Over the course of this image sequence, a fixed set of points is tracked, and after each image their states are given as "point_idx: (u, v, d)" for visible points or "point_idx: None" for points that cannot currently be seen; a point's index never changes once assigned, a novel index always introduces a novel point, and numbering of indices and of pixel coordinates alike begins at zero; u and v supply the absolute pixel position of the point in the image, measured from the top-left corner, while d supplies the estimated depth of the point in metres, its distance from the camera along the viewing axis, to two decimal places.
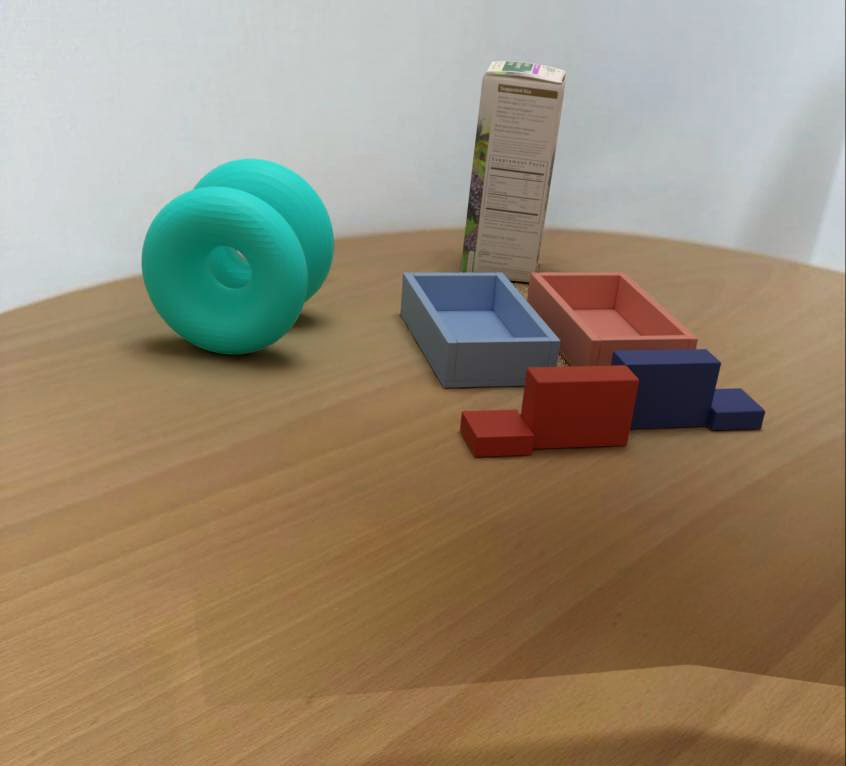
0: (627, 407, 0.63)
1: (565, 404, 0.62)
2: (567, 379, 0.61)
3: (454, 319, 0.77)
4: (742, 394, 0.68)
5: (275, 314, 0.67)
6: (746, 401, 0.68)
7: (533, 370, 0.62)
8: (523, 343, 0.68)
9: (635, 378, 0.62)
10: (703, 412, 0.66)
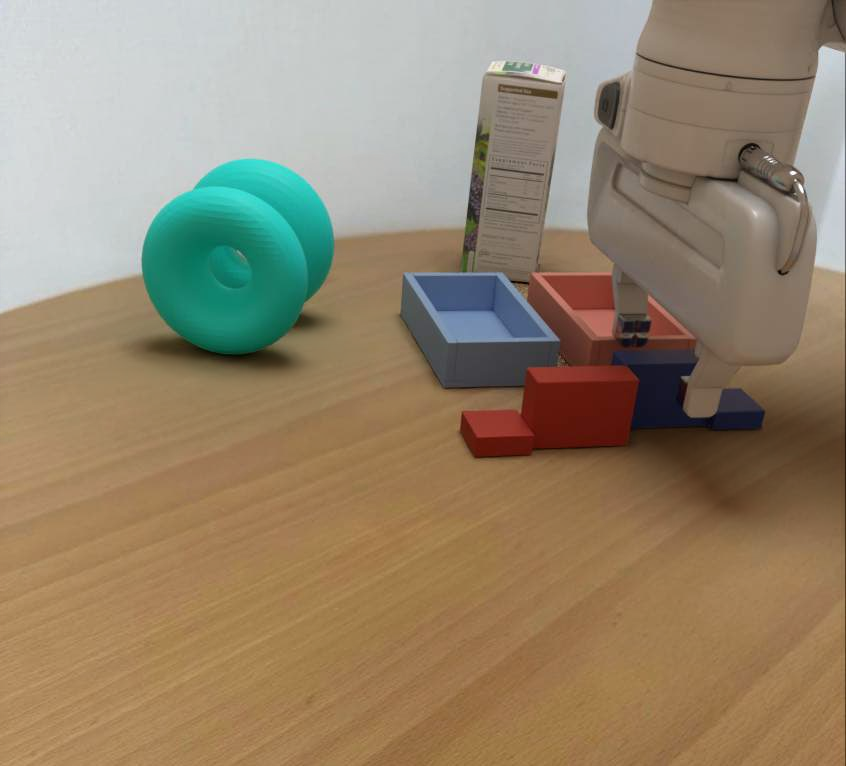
0: (627, 407, 0.63)
1: (565, 404, 0.62)
2: (567, 379, 0.61)
3: (454, 319, 0.77)
4: (742, 394, 0.68)
5: (275, 314, 0.67)
6: (746, 401, 0.68)
7: (533, 370, 0.62)
8: (523, 343, 0.68)
9: (635, 378, 0.62)
10: None
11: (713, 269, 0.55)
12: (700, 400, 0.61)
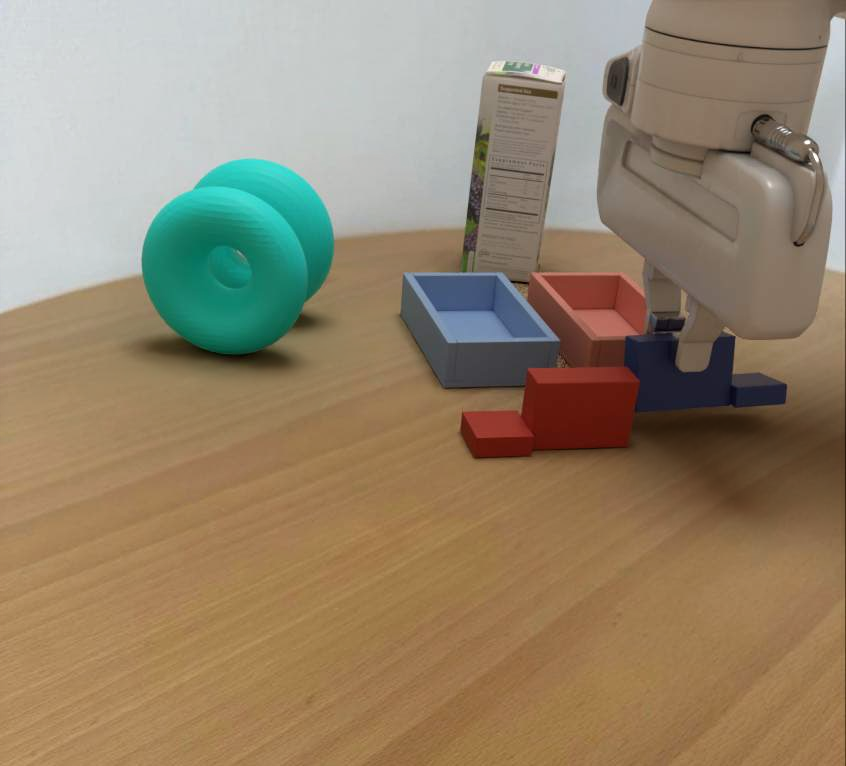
0: (628, 408, 0.63)
1: (565, 405, 0.62)
2: (567, 380, 0.61)
3: (454, 319, 0.77)
4: (762, 375, 0.67)
5: (275, 314, 0.67)
6: (766, 379, 0.67)
7: (533, 371, 0.62)
8: (523, 343, 0.68)
9: (636, 379, 0.62)
10: (724, 390, 0.65)
11: (727, 242, 0.55)
12: (691, 355, 0.62)
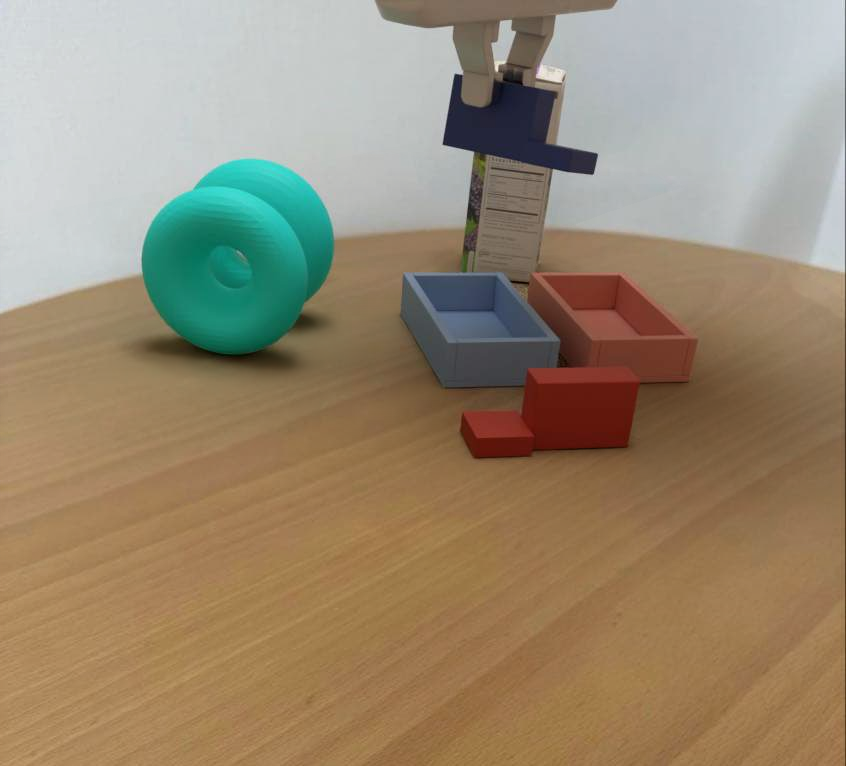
0: (628, 408, 0.63)
1: (565, 405, 0.62)
2: (567, 380, 0.61)
3: (454, 319, 0.77)
4: (585, 151, 0.65)
5: (275, 314, 0.67)
6: (573, 149, 0.64)
7: (533, 371, 0.62)
8: (523, 343, 0.68)
9: (636, 379, 0.62)
10: (521, 144, 0.65)
11: None
12: (471, 86, 0.65)
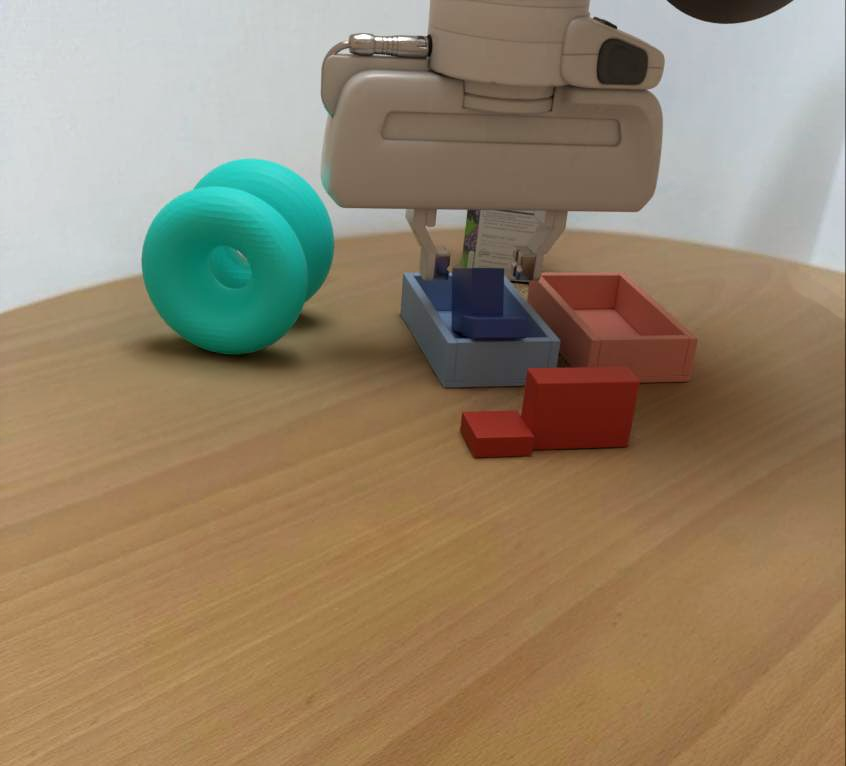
0: (628, 408, 0.63)
1: (565, 405, 0.62)
2: (568, 380, 0.61)
3: None
4: (509, 317, 0.68)
5: (275, 314, 0.67)
6: (492, 317, 0.68)
7: (533, 371, 0.62)
8: (523, 343, 0.68)
9: (636, 379, 0.62)
10: None
11: None
12: (422, 260, 0.71)
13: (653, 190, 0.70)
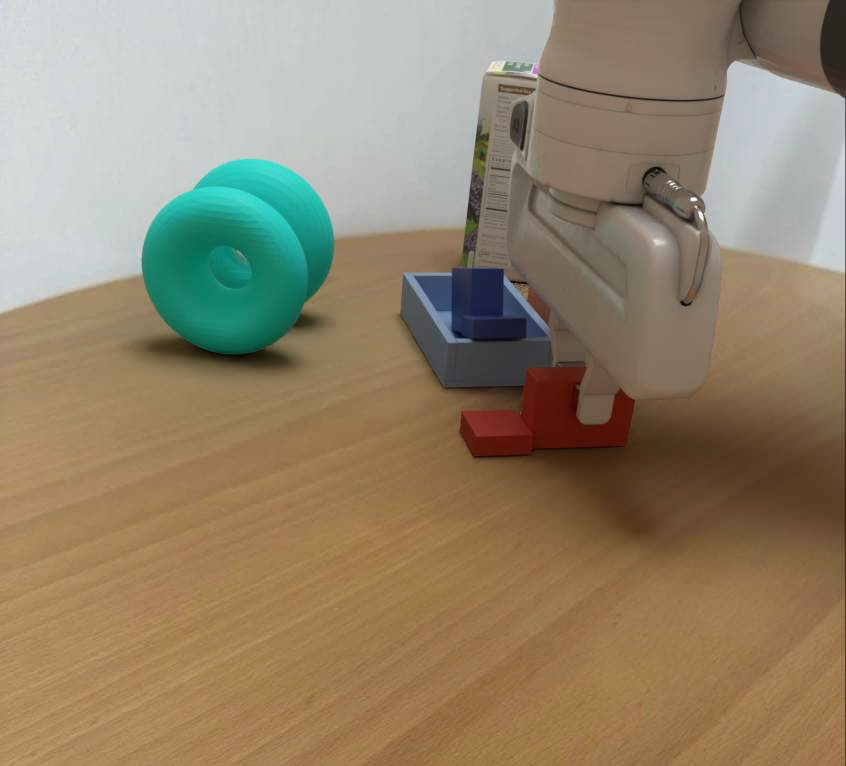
0: (627, 407, 0.63)
1: (564, 403, 0.62)
2: (567, 378, 0.61)
3: None
4: (509, 317, 0.68)
5: (275, 314, 0.67)
6: (492, 317, 0.68)
7: (533, 370, 0.62)
8: (523, 343, 0.68)
9: None
10: None
11: (617, 298, 0.53)
12: (592, 407, 0.60)
13: None
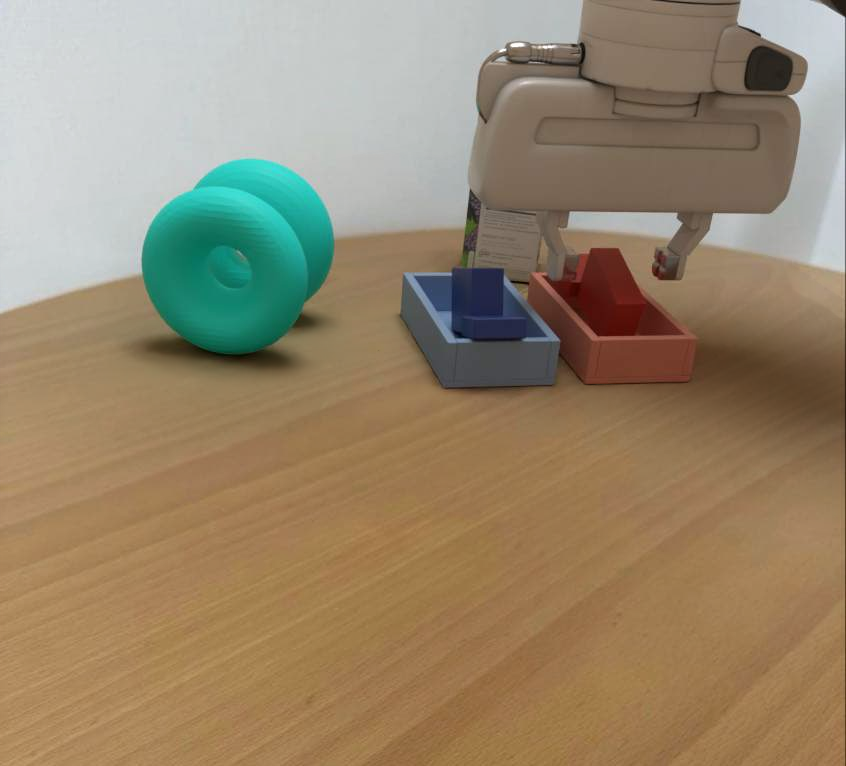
0: (608, 320, 0.73)
1: (592, 280, 0.75)
2: (601, 263, 0.74)
3: None
4: (509, 317, 0.68)
5: (275, 314, 0.67)
6: (492, 317, 0.68)
7: (613, 249, 0.75)
8: (523, 343, 0.68)
9: (618, 301, 0.71)
10: None
11: None
12: (550, 261, 0.73)
13: (786, 192, 0.72)
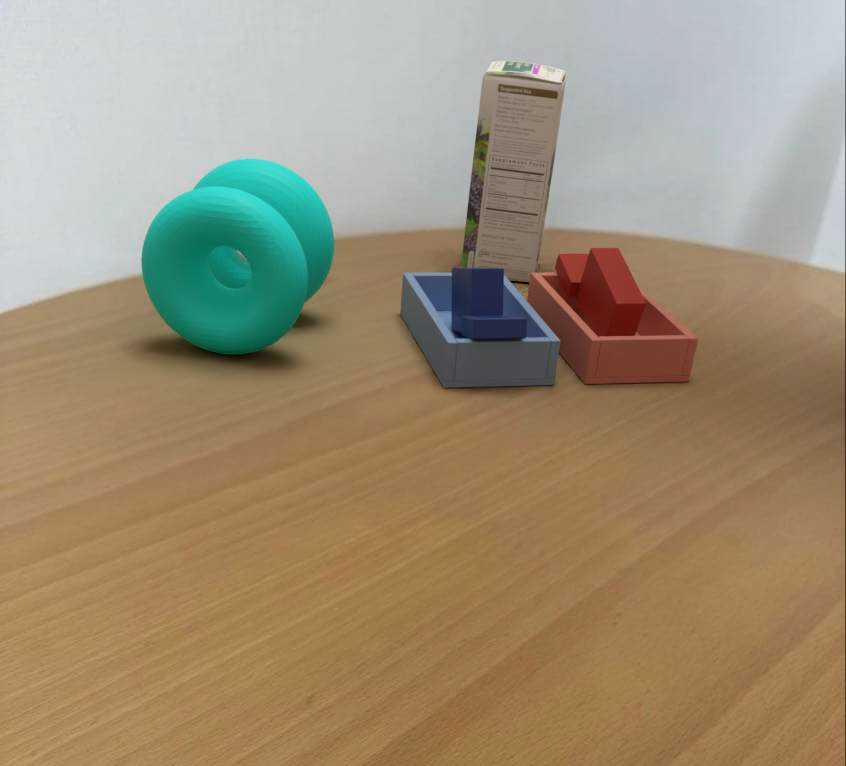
0: (608, 320, 0.73)
1: (592, 280, 0.75)
2: (601, 263, 0.74)
3: None
4: (509, 317, 0.68)
5: (275, 314, 0.67)
6: (492, 317, 0.68)
7: (613, 249, 0.75)
8: (523, 343, 0.68)
9: (618, 301, 0.71)
10: None
11: None
12: None
13: None
